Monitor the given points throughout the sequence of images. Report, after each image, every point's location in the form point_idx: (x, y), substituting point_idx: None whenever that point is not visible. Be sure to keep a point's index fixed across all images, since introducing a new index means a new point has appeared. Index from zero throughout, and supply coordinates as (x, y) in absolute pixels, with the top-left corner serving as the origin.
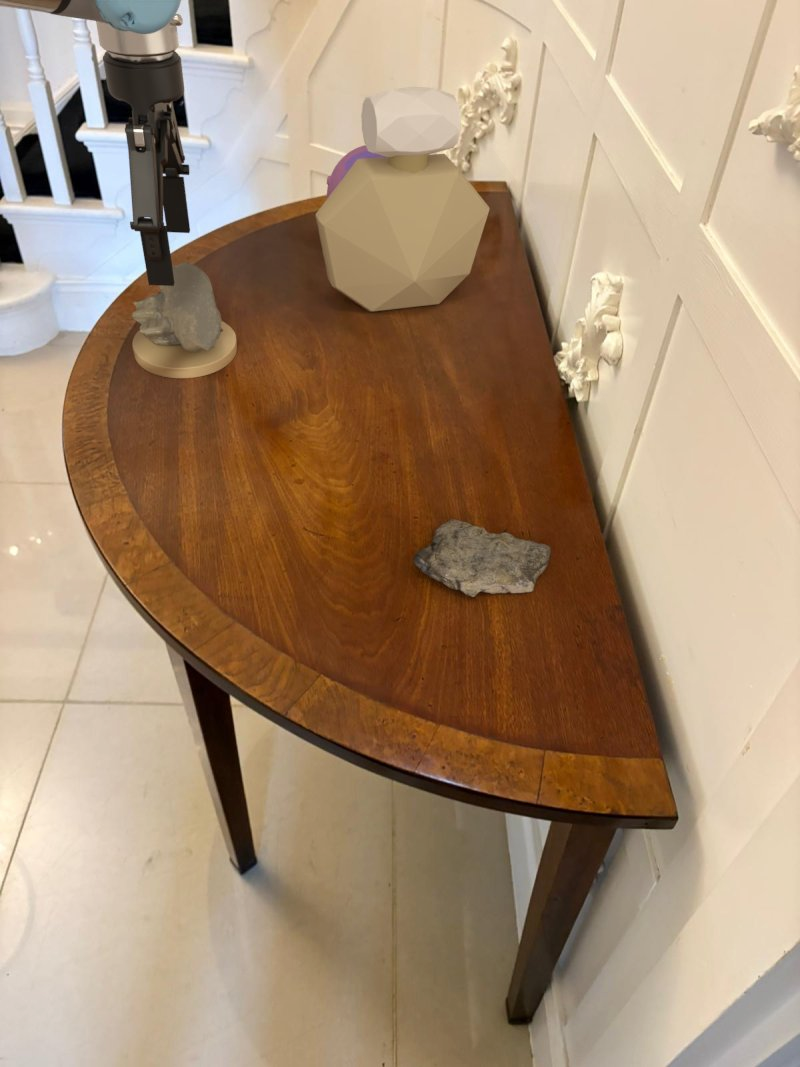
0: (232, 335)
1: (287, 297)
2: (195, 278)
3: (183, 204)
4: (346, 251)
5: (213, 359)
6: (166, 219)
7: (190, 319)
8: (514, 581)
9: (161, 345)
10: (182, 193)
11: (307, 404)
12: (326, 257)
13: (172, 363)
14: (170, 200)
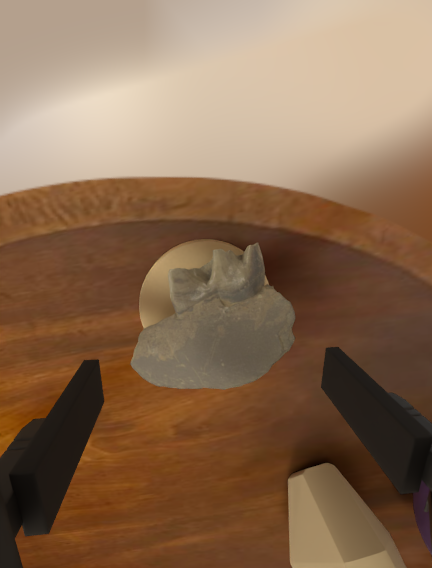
0: None
1: (326, 396)
2: (238, 368)
3: (355, 428)
4: (319, 540)
5: None
6: (340, 364)
7: (167, 351)
8: None
9: None
10: (373, 452)
11: (107, 436)
12: (325, 502)
13: (149, 301)
14: (365, 408)
